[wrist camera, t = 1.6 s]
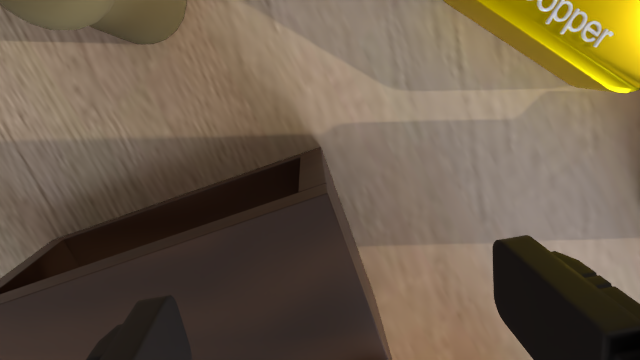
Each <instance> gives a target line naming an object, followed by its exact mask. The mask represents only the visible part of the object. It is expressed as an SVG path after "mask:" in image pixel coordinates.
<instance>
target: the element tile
mask: <svg viewBox="0 0 640 360" xmlns="http://www.w3.org/2000/svg"><path fill="white" fill-rule="evenodd" d="M443 1H444V2H445V3H447V4H448V5H450V6H451V7H453V8H454V9H456V10H457V11H459V12H461V13H462V14H464V15H465V16H467V17H468V18H470V19H471V20H473V21H474V22H476V23H477V24H479V25H480V26H482V27H483V28H485V29H486V30H488V31H489V32H491V33H492V34H494V35H495V36H497V37H498V38H500V39H501V40H503V41H504V42H506V43H507V44H509V45H510V46H512V47H513V48H515V49H516V50H518V51H519V52H521V53H523V54H524V55H526V56H527V57H529V58H530V59H532V60H533V61H535V62H536V63H538V64H539V65H541V66H542V67H544V68H545V69H547V70H548V71H550V72H551V73H553V74H554V75H556V76H557V77H559V78H560V79H562V80H563V81H565V82H566V83H568V84H570V85H572V86H575V87H578V88H585V89H593V90H601V91H608V92H616V93H629V92H633V91H637V90H639V89H640V0H443Z"/></svg>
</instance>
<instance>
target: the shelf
mask: <svg viewBox="0 0 640 360" xmlns="http://www.w3.org/2000/svg"><path fill="white" fill-rule="evenodd" d="M167 295H171V296H173V297H174V299H175V300H176V303H177V306H178V309H179V312H180V315H181V318H182V322H183V325H184V328H185V331H186V334H187V338H188V341H189V344H190V348H191V355H192V360H392V357H391V353H390V350H389V346H388V343H387V339H386V335H385V332H384V328H383V325H382V321H381V317H380V314H379V310H378V307H377V303H376V300H375V297H374V294H373V291H372V288H371V286H370V283H369V280H368V277H367V274H366V272H365V269H364V266H363V263H362V260H361V258H360V255H359V252H358V249H357V246H356V244H355V241H354V238H353V235H352V232H351V230H350V227H349V224H348V221H347V218H346V216H345V213H344V210H343V207H342V204H341V202H340V199H339V196H338V193H337V190H336V188H335V185H334V182H333V179H332V176H331V174H330V171H329V168H328V165H327V162H326V160H325V157H324V154H323V151H322V148H321V147H319V148H316V149H313V150H310V151H307V152H304V153H301V155H300V154H298V155H296V156H293V157H290V158H287V159H284V160H281V161H278V162H275V163H273V164H270V165H267V166H264V167H261V168H258V169H255V170H253V171H250V172H247V173H244V174H241V175H238V176H235V177H232V178H230V179H227V180H224V181H221V182H218V183H215V184H212V185H209V186H207V187H204V188H201V189H198V190H195V191H192V192H189V193H187V194H184V195H181V196H178V197H175V198H172V199H169V200H166V201H164V202H161V203H158V204H155V205H152V206H149V207H146V208H144V209H141V210H138V211H135V212H132V213H129V214H126V215H123V216H121V217H118V218H115V219H112V220H109V221H106V222H103V223H100V224H98V225H95V226H92V227H89V228H86V229H83V230H80V231H78V232H75V233H72V234H69V235H66V236H63V237H60V238H58V239H55V240H52V241H51V242H49V243H48V244H47V245H45V246H44V247H42V248H41V249H40V250H38V251H37V252H36V253H34V254H33V255H32V256H30V257H29V258H28V259H26V260H25V261H24V262H22V263H21V264H20V265H18V266H17V267H15V268H14V269H13V270H11V271H10V272H9V273H7V274H6V275H5V276H3V277H2V278H1V279H0V360H86V359H87V357H88V356H89V354H90V353H91V351H92V350H93V349H94V347H95V346H96V344H97V343H98V341H100V340H101V339H102V338H103V337H104V336H105V335H107V334H108V333H109V332H110V331H111V330H112V329H114V328H115V327H116V326H117V325H120V324H123V323H124V321H125V320H126V318H127V317H128V315H129V313H130V312H131V310H132V309H133V307H134V306H135V304H136V303H137V302H138V301H139V300H144V299H150V298H156V297H162V296H167Z"/></svg>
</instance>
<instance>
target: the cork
mask: <svg viewBox="0 0 640 360" xmlns="http://www.w3.org/2000/svg"><path fill="white" fill-rule="evenodd" d="M0 4H1V5H2V6H3V7H4V8H5V9H7V10H8V11H10V12H12V13H13V14H15V15H16V16H18V17H19V18H21V19H22V20H24V21H26V22H28V23H30V24H33V25H36V26H40V27H43V28H46V29H49V30H78V29H81V28H84V27H86V26H90V27H93V28H95V29H98V30H101V31H103V32H106V33H108V34H111V35H114V36H116V37H119V38H121V39H124V40H127V41H130V42H133V43H137V44H154V43H157V42H160V41H162V40H165V39H167V38H168V37H169V36H170V35H172V34H173V33H174V32H175V31H176V30H177V29H178V27H179V25H180V23H181V22H182V20H183V18H184V14H185V9H186V4H187V1H186V0H0Z"/></svg>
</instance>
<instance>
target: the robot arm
mask: <svg viewBox="0 0 640 360" xmlns="http://www.w3.org/2000/svg"><path fill="white" fill-rule="evenodd" d="M493 281H494V299H495V304H496V307H497V310H498V312H499V315H500V317H501V318H502V320H503V321H504V323H505V324H506V325H507V327H508V328H509V329H510V330H511V332H512V333H513V334H514V335H515V337H516V338H517V339H518V340H519V342H520V343H521V344H522V346H523V347H524V348H525V349H526V351H527V352H528V353H529V354H530V356H531V357H532V358H533V359H534V360H640V304H639V303H637V302H636V301H635V300H633V299H632V298H630V297H629V296H628V295H626V294H625V293H623V292H622V291H621V290H619V289H618V288H616V287H612V286H611V283H609V282H608V281H607V280H605V279H604V278H602V277H601V276H600V275H599V276H597V275H596V273H595V272H594V271H593V270H591V269H590V268H588V267H587V266H586V265H584V264H583V263H581V262H580V261H579V260H576V259H574V258H571V257H569V256H566V255H564V254H561V253H558V252H556V251H553V252H550V251H549V250H547V249H546V248H545V247H544V246H542V245H541V244H540V243H538V242H537V241H536V240H534V239H533V238H532V237H530V236H528V235H525V236H519V237H513V238H507V239H501V240H496V241H495V242H494V244H493ZM86 360H192V355H191V348H190V344H189V341H188V338H187V334H186V331H185V328H184V325H183V322H182V318H181V315H180V312H179V309H178V306H177V303H176V300H175V299H174V297H173V296H171V295H167V296H162V297H156V298H150V299H144V300H139V301H138V302H137V303H136V304H135V306H134V307H133V309H132V310H131V312H130V313H129V315H128V317H127V318H126V320H125V321H124V323H123V324H120V325H117V326H116V327H115V328H114V329H112V330H111V331H110V332H109V333H108V334H107V335H105V336H104V337H103V338H102V339H101V340H100V341H98V343H97V344H96V346H95V347H94V349H93V350H92V351H91V353H90V354H89V356H88V357H87V359H86Z"/></svg>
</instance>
